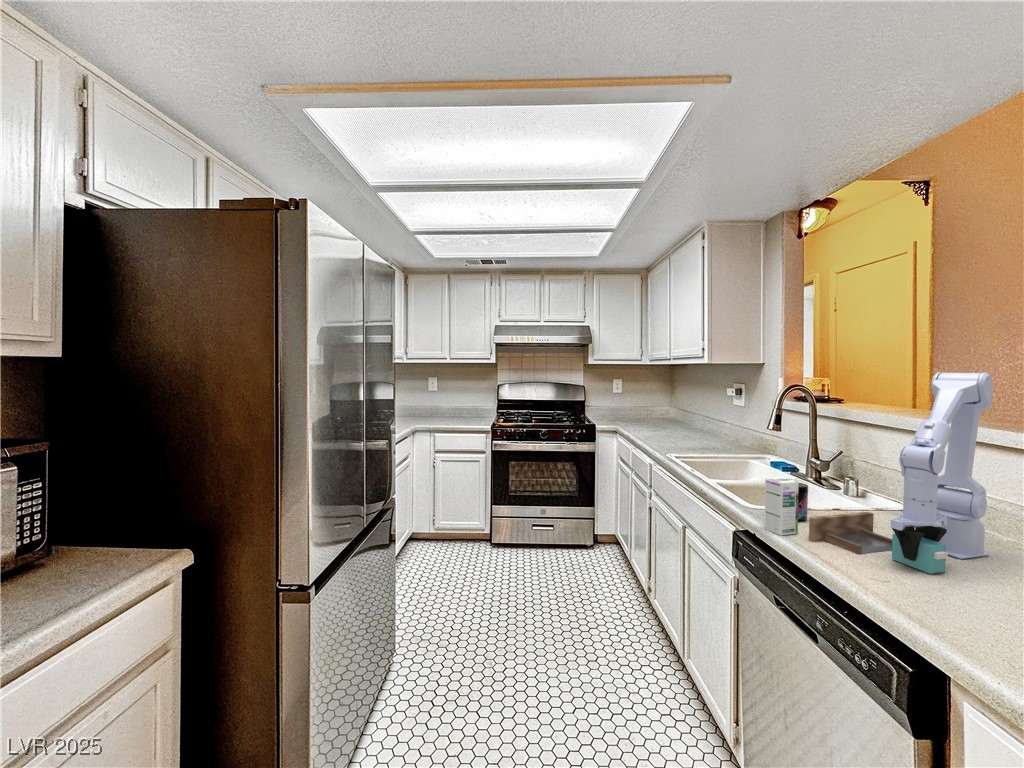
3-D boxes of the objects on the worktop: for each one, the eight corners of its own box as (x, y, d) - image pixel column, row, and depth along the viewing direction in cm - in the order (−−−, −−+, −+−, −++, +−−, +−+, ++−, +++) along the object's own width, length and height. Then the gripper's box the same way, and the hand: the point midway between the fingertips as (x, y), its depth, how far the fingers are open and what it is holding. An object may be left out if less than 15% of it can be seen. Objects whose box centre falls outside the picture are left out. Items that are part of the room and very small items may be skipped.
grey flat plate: (860, 537, 123) (860, 532, 123) (895, 549, 115) (895, 544, 115) (828, 540, 120) (828, 536, 120) (861, 553, 112) (861, 548, 112)
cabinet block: (905, 557, 110) (906, 532, 109) (949, 573, 101) (950, 546, 101) (891, 559, 108) (892, 533, 108) (934, 575, 100) (935, 548, 100)
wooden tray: (867, 533, 126) (868, 511, 126) (909, 548, 116) (910, 524, 116) (808, 540, 121) (809, 517, 121) (847, 555, 111) (848, 530, 110)
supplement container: (787, 522, 135) (788, 486, 135) (776, 514, 142) (777, 481, 142) (812, 522, 134) (813, 487, 134) (799, 515, 141) (801, 481, 141)
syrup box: (781, 536, 123) (782, 482, 123) (763, 528, 129) (764, 477, 129) (798, 534, 125) (799, 481, 125) (780, 527, 131) (781, 476, 130)
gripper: (915, 506, 99) (913, 568, 99) (964, 501, 103) (961, 561, 103) (881, 497, 106) (879, 555, 106) (928, 493, 109) (926, 549, 110)
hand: (917, 558), depth 105 cm, fingers closed on cabinet block, 4 cm apart
